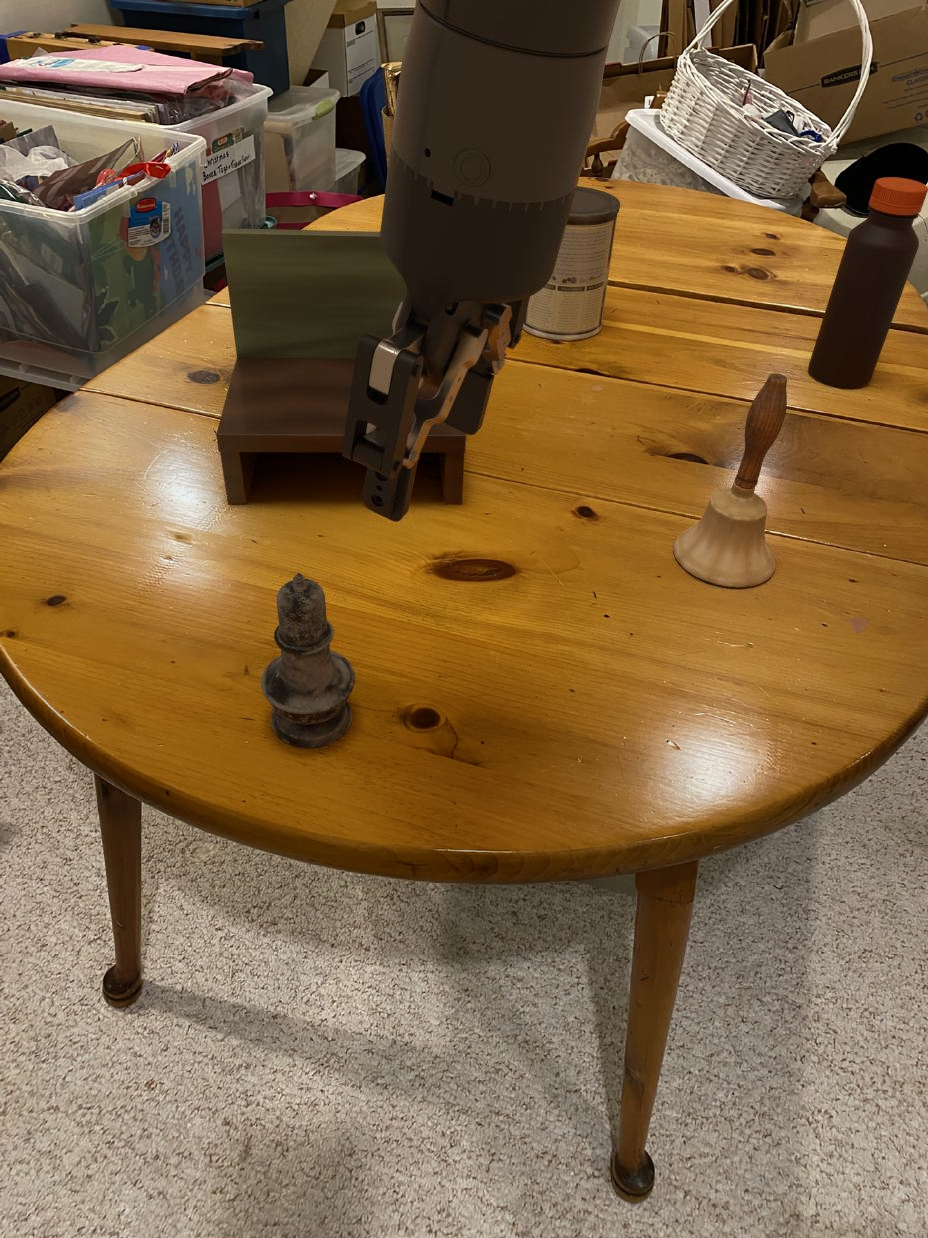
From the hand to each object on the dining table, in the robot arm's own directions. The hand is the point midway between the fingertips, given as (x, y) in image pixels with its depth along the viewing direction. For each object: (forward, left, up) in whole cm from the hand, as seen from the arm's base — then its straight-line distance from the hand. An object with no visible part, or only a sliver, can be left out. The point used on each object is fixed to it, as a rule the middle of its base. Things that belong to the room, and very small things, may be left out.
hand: (424, 466), depth 48 cm
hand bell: (+8, +30, -19) cm, 37 cm away
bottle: (+4, +70, -19) cm, 73 cm away
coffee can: (-27, +61, -19) cm, 69 cm away
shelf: (-25, +21, -19) cm, 38 cm away
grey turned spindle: (-6, -4, -19) cm, 21 cm away
